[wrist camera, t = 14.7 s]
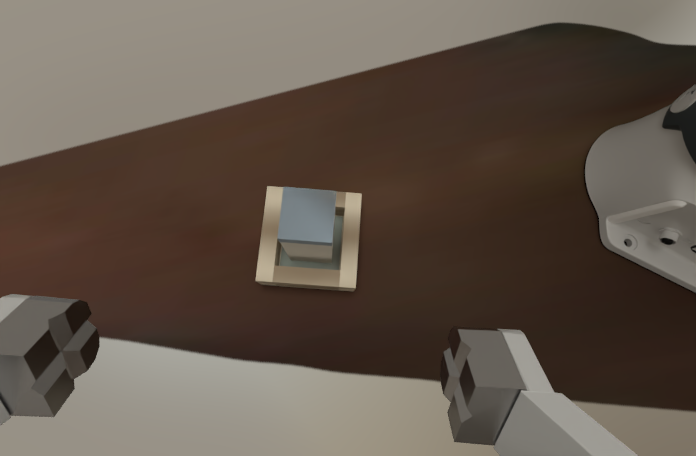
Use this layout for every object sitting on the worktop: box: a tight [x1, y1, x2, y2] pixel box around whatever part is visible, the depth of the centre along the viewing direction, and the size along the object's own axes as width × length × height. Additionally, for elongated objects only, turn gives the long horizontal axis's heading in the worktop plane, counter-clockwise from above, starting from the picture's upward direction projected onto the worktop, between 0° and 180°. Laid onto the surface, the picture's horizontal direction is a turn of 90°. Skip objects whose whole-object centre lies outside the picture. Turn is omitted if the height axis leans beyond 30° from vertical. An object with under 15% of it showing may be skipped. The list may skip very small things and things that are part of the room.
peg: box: [277, 187, 336, 263], centre depth 34 cm, size 4×4×10 cm
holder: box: [256, 186, 362, 291], centre depth 38 cm, size 9×9×4 cm
